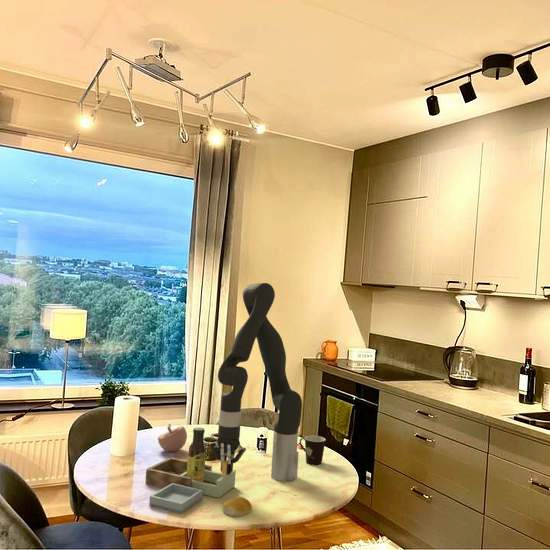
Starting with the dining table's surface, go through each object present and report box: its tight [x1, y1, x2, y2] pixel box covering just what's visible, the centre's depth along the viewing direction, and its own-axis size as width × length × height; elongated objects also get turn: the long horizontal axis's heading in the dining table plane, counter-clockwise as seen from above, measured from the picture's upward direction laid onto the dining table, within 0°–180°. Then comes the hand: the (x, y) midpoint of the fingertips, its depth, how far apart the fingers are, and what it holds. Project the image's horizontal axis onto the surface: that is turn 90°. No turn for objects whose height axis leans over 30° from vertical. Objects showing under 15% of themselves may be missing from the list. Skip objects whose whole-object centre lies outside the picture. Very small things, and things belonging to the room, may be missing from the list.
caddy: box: [180, 458, 237, 499], centre depth 184 cm, size 17×12×10 cm
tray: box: [148, 483, 204, 515], centre depth 170 cm, size 12×13×3 cm
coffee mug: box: [299, 435, 327, 467], centre depth 218 cm, size 12×9×10 cm
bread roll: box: [222, 497, 252, 518], centre depth 167 cm, size 8×9×4 cm
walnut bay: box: [145, 457, 213, 489], centre depth 188 cm, size 18×15×5 cm
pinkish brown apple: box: [157, 423, 188, 453], centre depth 221 cm, size 12×12×12 cm
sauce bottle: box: [186, 427, 207, 482], centre depth 186 cm, size 6×6×20 cm
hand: (226, 473), depth 181 cm, fingers closed
